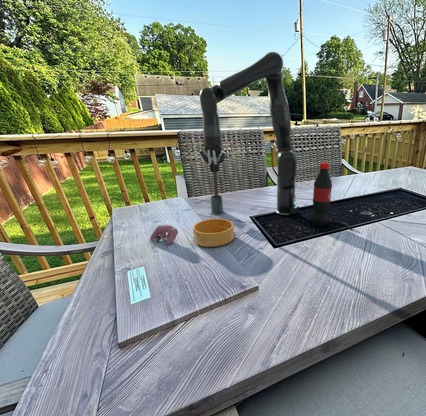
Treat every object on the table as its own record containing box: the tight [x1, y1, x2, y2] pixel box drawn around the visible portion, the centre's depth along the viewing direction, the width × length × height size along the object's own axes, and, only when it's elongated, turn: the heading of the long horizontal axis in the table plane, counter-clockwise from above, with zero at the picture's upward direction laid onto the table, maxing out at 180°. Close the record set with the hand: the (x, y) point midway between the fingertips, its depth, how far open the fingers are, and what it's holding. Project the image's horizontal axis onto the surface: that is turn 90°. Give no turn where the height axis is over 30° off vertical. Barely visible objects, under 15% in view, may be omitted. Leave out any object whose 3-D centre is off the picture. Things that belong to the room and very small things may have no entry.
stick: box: [212, 161, 219, 198], centre depth 129 cm, size 2×2×20 cm
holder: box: [209, 194, 224, 215], centre depth 133 cm, size 6×6×9 cm
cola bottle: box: [311, 162, 333, 228], centre depth 122 cm, size 8×8×30 cm
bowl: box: [192, 218, 235, 248], centre depth 106 cm, size 15×15×6 cm
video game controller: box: [150, 224, 179, 245], centre depth 104 cm, size 10×5×7 cm, turn 71°
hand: (214, 171), depth 127 cm, fingers closed on stick, 1 cm apart
